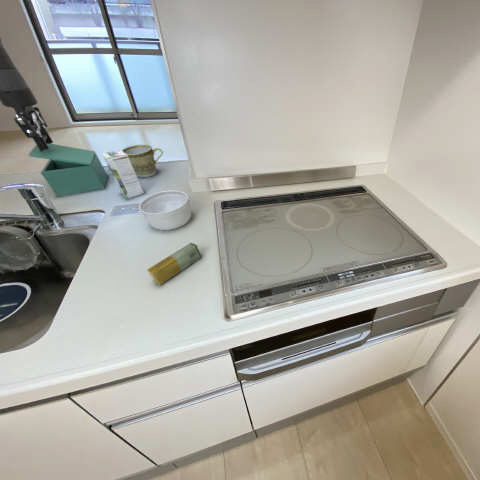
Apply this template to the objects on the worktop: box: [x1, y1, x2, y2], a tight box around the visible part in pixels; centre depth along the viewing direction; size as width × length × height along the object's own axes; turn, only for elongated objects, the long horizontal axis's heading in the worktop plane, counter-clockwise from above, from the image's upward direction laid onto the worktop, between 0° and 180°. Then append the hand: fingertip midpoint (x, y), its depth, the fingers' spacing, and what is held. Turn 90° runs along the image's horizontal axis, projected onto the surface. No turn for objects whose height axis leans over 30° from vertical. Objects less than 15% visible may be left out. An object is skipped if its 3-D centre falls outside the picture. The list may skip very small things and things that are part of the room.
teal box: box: [40, 153, 108, 197], centre depth 92 cm, size 14×12×9 cm
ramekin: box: [138, 189, 192, 231], centre depth 78 cm, size 13×13×7 cm
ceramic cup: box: [121, 144, 164, 178], centre depth 101 cm, size 13×10×10 cm
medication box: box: [146, 242, 202, 286], centre depth 64 cm, size 12×3×4 cm, turn 149°
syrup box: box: [102, 149, 145, 200], centre depth 87 cm, size 6×6×14 cm
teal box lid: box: [28, 133, 96, 165], centre depth 86 cm, size 14×12×5 cm
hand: (46, 146), depth 84 cm, fingers closed on teal box lid, 5 cm apart
